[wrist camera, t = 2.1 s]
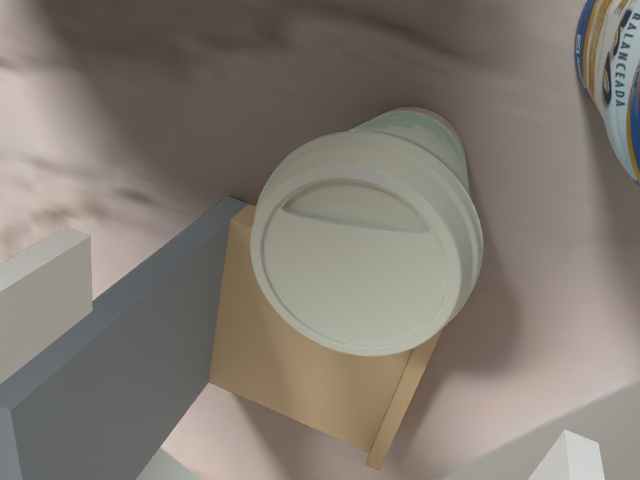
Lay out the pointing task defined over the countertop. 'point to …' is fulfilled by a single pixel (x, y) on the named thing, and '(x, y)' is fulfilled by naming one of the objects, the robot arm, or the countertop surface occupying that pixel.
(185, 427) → the countertop surface
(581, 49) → the beverage bottle
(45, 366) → the grey board on stand
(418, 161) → the coffee cup
